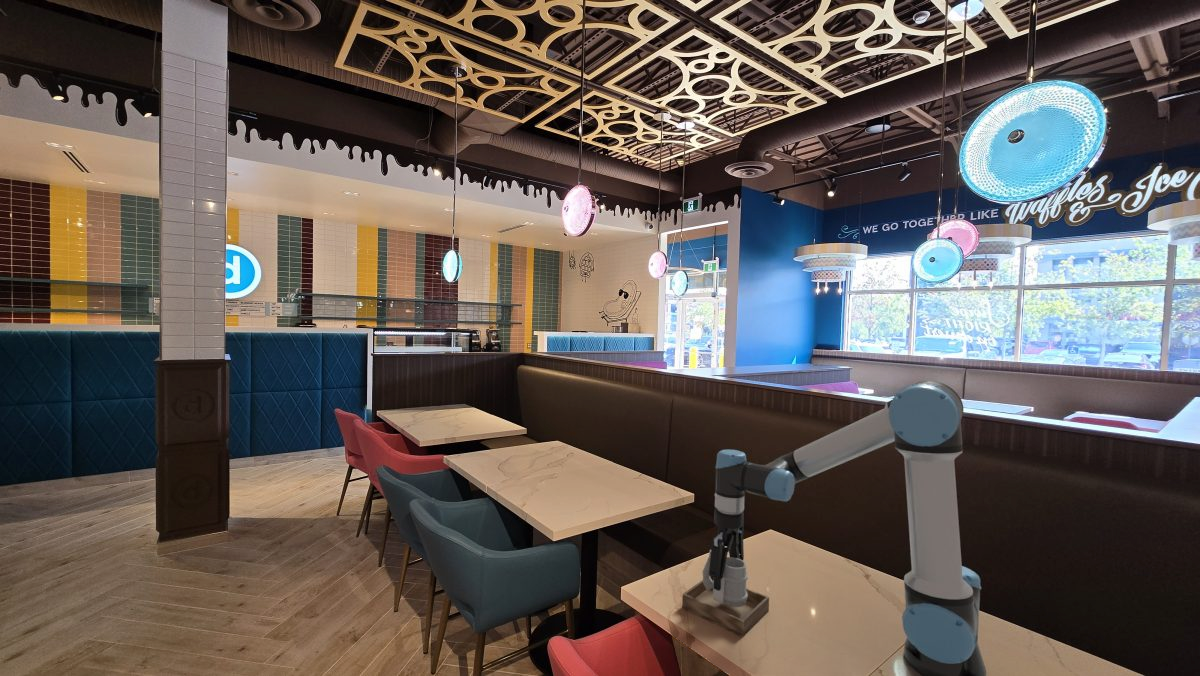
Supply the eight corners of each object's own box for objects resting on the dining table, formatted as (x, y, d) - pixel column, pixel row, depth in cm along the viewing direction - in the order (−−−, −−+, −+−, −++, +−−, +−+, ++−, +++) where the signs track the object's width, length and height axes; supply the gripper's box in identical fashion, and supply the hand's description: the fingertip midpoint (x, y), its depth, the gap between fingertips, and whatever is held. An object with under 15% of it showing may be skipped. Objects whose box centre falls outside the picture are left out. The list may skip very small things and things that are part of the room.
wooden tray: (768, 611, 130) (769, 597, 130) (742, 637, 119) (743, 621, 118) (710, 586, 141) (711, 573, 141) (682, 608, 130) (682, 594, 130)
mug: (746, 610, 124) (748, 563, 124) (699, 600, 128) (701, 555, 127) (748, 595, 131) (749, 551, 131) (703, 586, 135) (705, 543, 135)
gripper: (733, 496, 139) (730, 575, 140) (696, 515, 124) (693, 604, 125) (759, 503, 134) (755, 585, 135) (723, 524, 119) (719, 616, 120)
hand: (725, 594), depth 130 cm, fingers closed on mug, 7 cm apart
